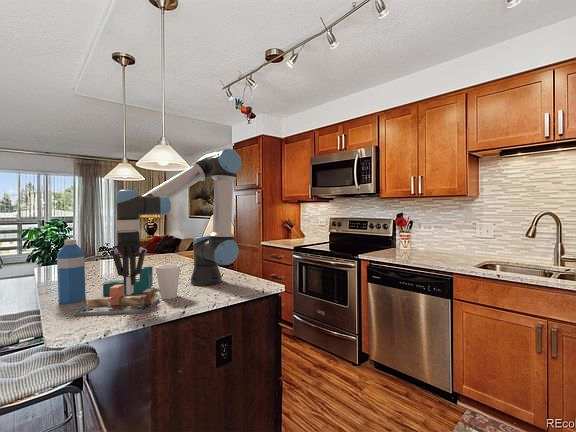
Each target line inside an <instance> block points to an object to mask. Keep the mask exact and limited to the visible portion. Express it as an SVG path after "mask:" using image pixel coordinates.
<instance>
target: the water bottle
mask: <svg viewBox="0 0 576 432" xmlns="http://www.w3.org/2000/svg"><path fill="white" fill-rule="evenodd" d="M63 241H64V244H63V246H62V247H61V248H60V250H59V251H58V252H57V254H56V263H57V292H58V293H57V295H58V299H57V301H58V303H59V304H64V305H65V304H73V303H79V302H82V301H84V300H86V299H87V298H86V294H87V293H86V271H85V269H86V267H85V266H86V265H85V263H86V262H85V251H84V250H83V249H82V248H81V247H80V246H79V245H78V243H77V239H75V238H71V239H64V240H63Z"/></svg>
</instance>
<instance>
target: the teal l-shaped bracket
mask: <svg viewBox="0 0 576 432" xmlns="http://www.w3.org/2000/svg"><path fill="white" fill-rule="evenodd" d="M153 275H154V274H153V266H144V267H143V268H142V270H141V273H140V274H139V278H136V284H135V285H133V287H134V293H132V294H131V295H133V294H143V292H144V291H145V290H146V289H152V288H153V285H154V283H153V281H154V279H153V278H154V277H153ZM121 284H124V279H120V280H117V279H116V280H109V281H107V282H104V283H103V285H102V296H104V297H109V296H110V287H112V286H114V285H121ZM124 295H127V292H126V285H124Z"/></svg>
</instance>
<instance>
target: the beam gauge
mask: <svg viewBox="0 0 576 432" xmlns="http://www.w3.org/2000/svg"><path fill="white" fill-rule="evenodd" d="M109 297H110V296H104V297H90V298H88V299H87V306H104V305H108V301H107V298H109ZM154 299H155V288H153V287H151V289H146V290H145V291H144V292H143V293H142V295H133V296H132V295H128V296H124V297H120V304H119V305H128V304H141V307H143V306H144V304H152V303H153V302H154Z"/></svg>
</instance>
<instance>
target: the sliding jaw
mask: <svg viewBox="0 0 576 432" xmlns="http://www.w3.org/2000/svg"><path fill="white" fill-rule="evenodd" d="M108 297H109V298H107V301H108V308H111V305H119V304H120V297H125V294H124V284H121V285H114V286H112V287H110V295H109V296H108Z"/></svg>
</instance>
